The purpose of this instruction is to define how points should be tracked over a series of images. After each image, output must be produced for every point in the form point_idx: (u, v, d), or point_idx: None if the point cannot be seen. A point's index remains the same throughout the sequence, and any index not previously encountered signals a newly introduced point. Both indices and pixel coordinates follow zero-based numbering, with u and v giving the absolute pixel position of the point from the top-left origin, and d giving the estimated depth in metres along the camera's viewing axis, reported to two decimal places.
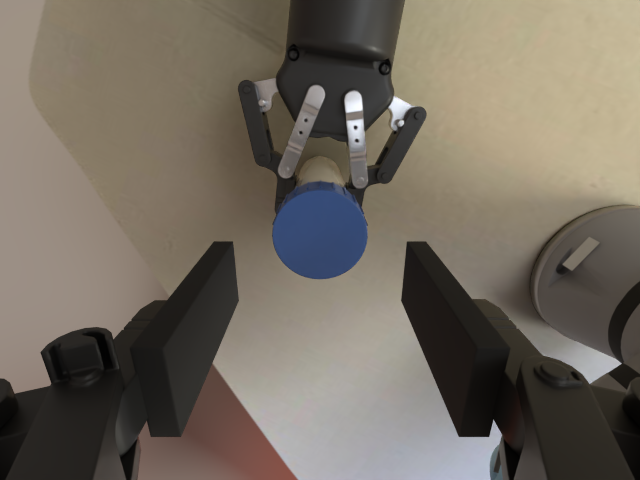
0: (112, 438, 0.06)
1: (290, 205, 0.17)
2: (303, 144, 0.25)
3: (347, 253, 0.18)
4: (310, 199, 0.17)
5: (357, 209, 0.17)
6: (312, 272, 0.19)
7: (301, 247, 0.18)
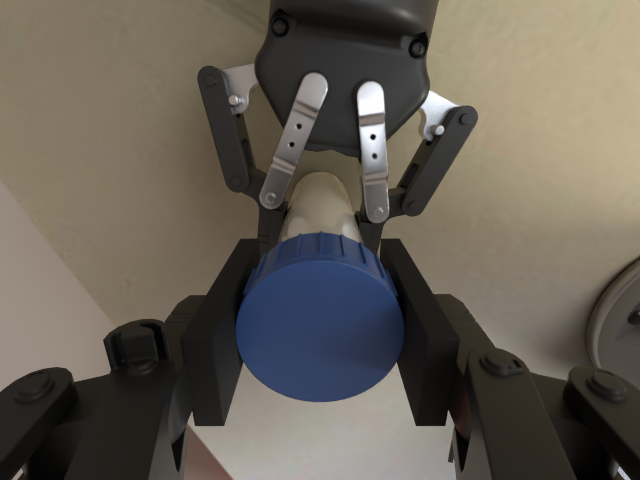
0: (166, 428, 0.06)
1: (265, 286, 0.09)
2: (295, 161, 0.17)
3: (368, 363, 0.10)
4: (302, 276, 0.09)
5: (388, 293, 0.10)
6: (307, 392, 0.11)
7: (287, 354, 0.10)
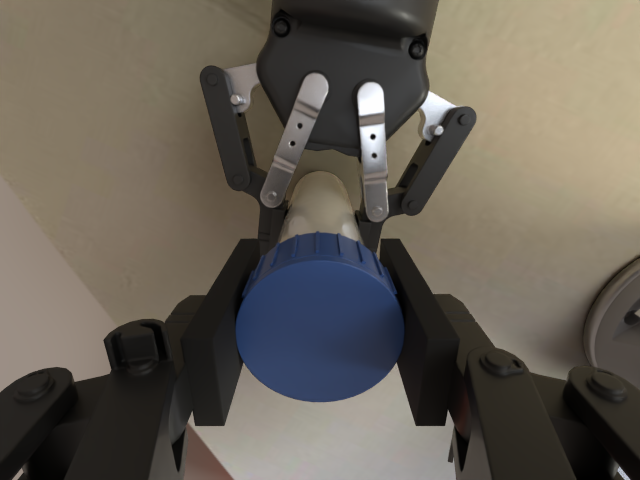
0: (166, 428, 0.06)
1: (271, 382, 0.11)
2: (296, 160, 0.17)
3: (347, 291, 0.10)
4: (255, 357, 0.10)
5: (258, 285, 0.09)
6: (391, 342, 0.10)
7: (343, 363, 0.10)
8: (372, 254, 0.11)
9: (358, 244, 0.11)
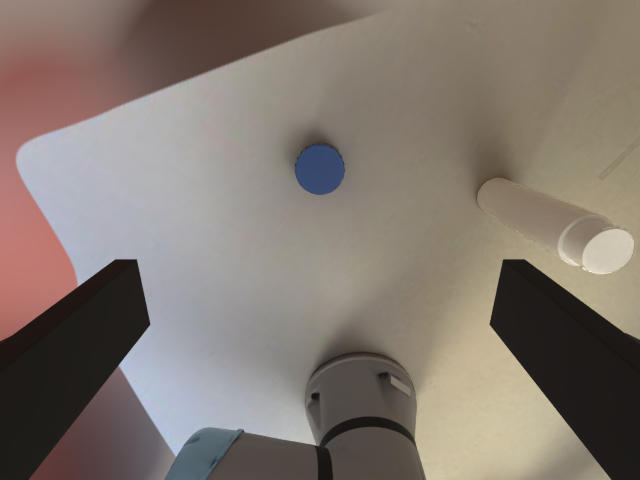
0: None
1: (305, 186, 0.36)
2: None
3: (327, 155, 0.34)
4: (300, 177, 0.35)
5: (303, 153, 0.34)
6: (340, 172, 0.35)
7: (326, 179, 0.35)
8: (336, 150, 0.36)
9: (331, 146, 0.36)
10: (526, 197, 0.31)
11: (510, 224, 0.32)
